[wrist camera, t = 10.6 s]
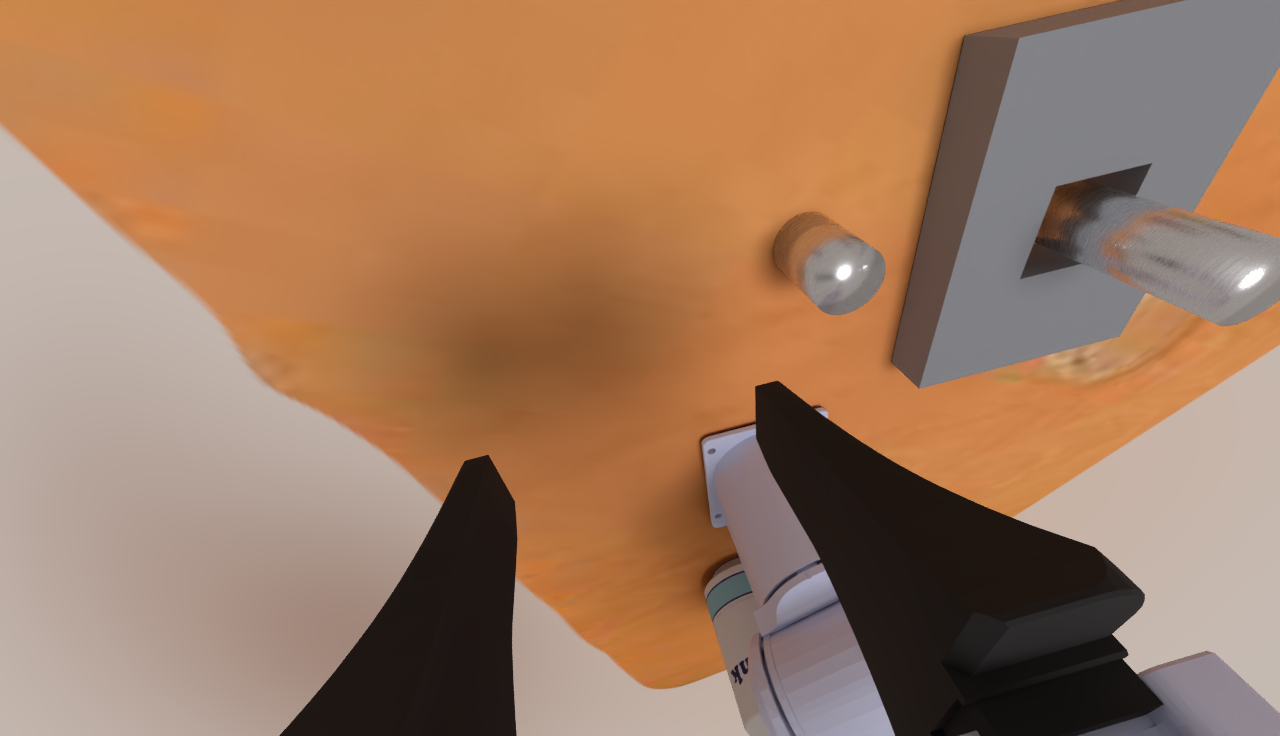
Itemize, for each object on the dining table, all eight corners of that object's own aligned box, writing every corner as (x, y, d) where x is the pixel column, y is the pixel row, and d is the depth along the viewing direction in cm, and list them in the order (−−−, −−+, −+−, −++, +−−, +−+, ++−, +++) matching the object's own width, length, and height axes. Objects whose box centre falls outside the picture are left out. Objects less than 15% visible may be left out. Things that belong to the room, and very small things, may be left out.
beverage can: (754, 538, 37) (832, 717, 27) (791, 565, 41) (870, 731, 31) (685, 578, 38) (735, 760, 29) (726, 601, 42) (782, 768, 33)
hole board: (1078, 314, 28) (1119, 336, 26) (891, 362, 28) (919, 388, 26) (1252, -30, 18) (1339, -35, 16) (964, 35, 18) (1019, 38, 16)
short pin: (830, 265, 23) (879, 305, 20) (772, 280, 23) (811, 322, 19) (836, 204, 21) (891, 238, 18) (772, 220, 21) (816, 256, 18)
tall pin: (1054, 223, 24) (1275, 312, 17) (998, 240, 24) (1196, 336, 17) (1075, 164, 22) (1335, 234, 15) (1015, 181, 22) (1247, 261, 15)
